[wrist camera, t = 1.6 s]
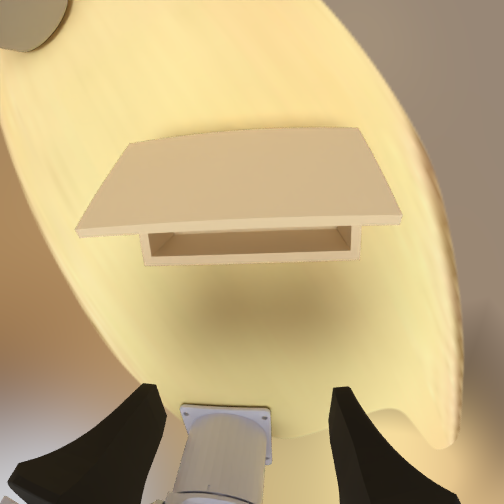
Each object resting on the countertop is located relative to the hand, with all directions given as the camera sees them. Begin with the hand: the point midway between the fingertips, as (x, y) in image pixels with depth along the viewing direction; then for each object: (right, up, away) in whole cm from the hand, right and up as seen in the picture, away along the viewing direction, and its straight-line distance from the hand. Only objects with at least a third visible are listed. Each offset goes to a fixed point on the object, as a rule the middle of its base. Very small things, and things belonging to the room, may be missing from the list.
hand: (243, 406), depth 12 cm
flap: (0, +9, 0) cm, 9 cm away
